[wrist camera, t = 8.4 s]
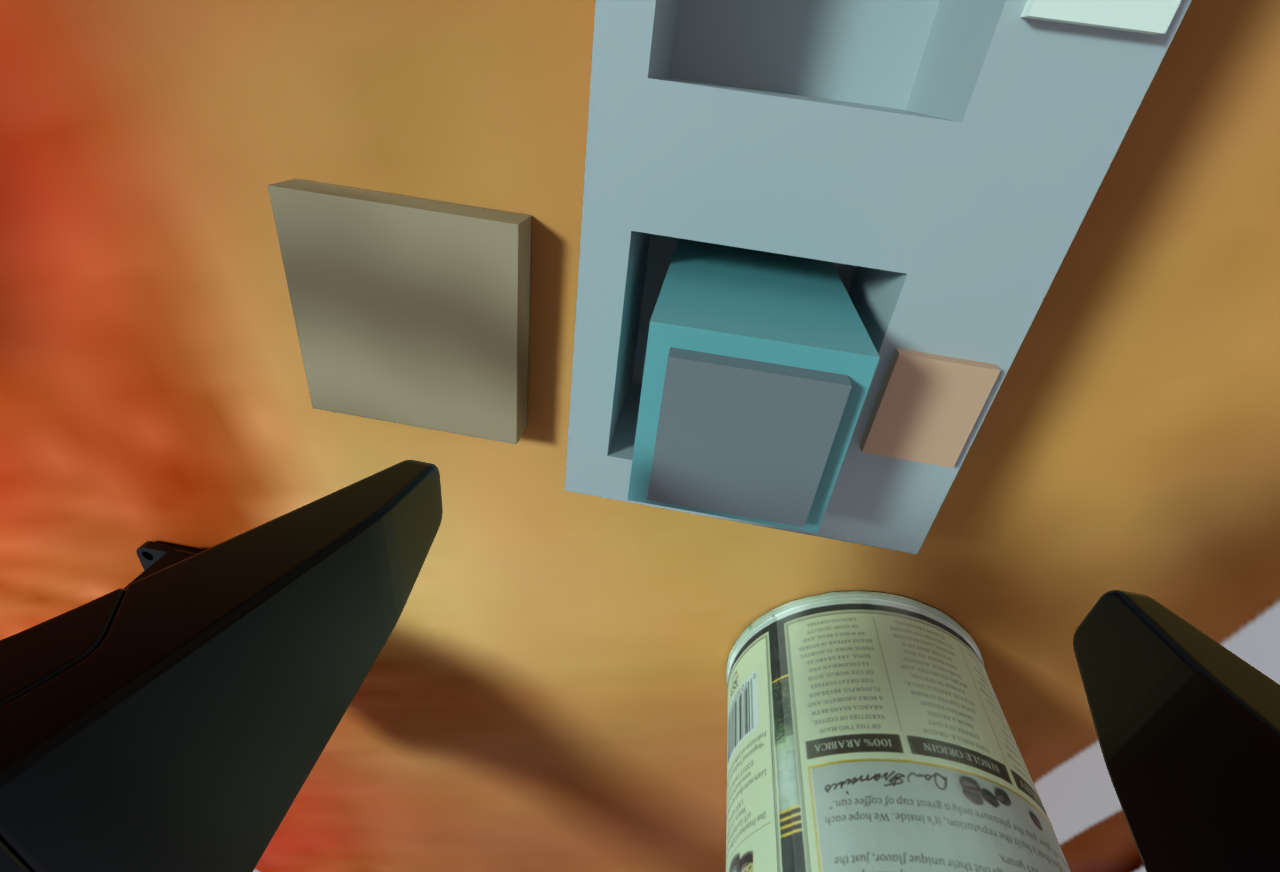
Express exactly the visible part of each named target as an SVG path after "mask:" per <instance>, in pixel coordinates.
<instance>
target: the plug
mask: <svg viewBox="0 0 1280 872" xmlns="http://www.w3.org/2000/svg"><path fill="white" fill-rule="evenodd" d="M879 359H880V356H879V354H878V352H877V350H876V348H875V346H874V344H873V342H872V340H871V338H870V336H869V334H868V332H867V330H866V328H865V326H864V324H863V322H862V320H861V318H860V317H859V315H858V313H857V311H856V309H855V307H854V305H853V303H852V301H851V299H850V297H849V295H848V293H847V291H846V289H845V287H844V285H843V283H842V281H841V279H840V277H839V275H838V273H837V271H836V269H835V267H834V265H833V263H832V262H828V261H822V260H816V259H809V258H803V257H796V256H790V255H784V254H777V253H771V252H764V251H758V250H751V249H745V248H739V247H732V246H726V245H719V244H713V243H707V242H700V241H694V240H687V239H681V238H679V240H678V243H677V246H676V248H675V251H674V254H673V257H672V260H671V263H670V265H669V268H668V271H667V274H666V277H665V280H664V283H663V285H662V288H661V291H660V294H659V297H658V300H657V303H656V305H655V308H654V311H653V314H652V317H651V320H650V325H649V333H648V341H647V349H646V356H645V364H644V372H643V380H642V388H641V396H640V404H639V412H638V420H637V428H636V436H635V444H634V452H633V460H632V468H631V475H630V483H629V491H628V499H627V500H631V501H636V502H642V503H648V504H653V505H659V506H665V507H671V508H676V509H682V510H688V511H693V512H699V513H705V514H710V515H716V516H722V517H727V518H733V519H739V520H745V521H750V522H756V523H762V524H767V525H773V526H779V527H784V528H790V529H796V530H802V531H807V532H813V533H818V530H819V527H820V525H821V522H822V519H823V516H824V513H825V511H826V508H827V505H828V502H829V499H830V496H831V494H832V491H833V488H834V485H835V482H836V480H837V477H838V474H839V471H840V468H841V465H842V463H843V460H844V457H845V454H846V451H847V449H848V446H849V443H850V440H851V437H852V435H853V432H854V429H855V426H856V423H857V420H858V418H859V415H860V412H861V409H862V406H863V404H864V401H865V398H866V395H867V392H868V390H869V387H870V384H871V381H872V378H873V375H874V373H875V370H876V367H877V364H878V361H879Z"/></svg>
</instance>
